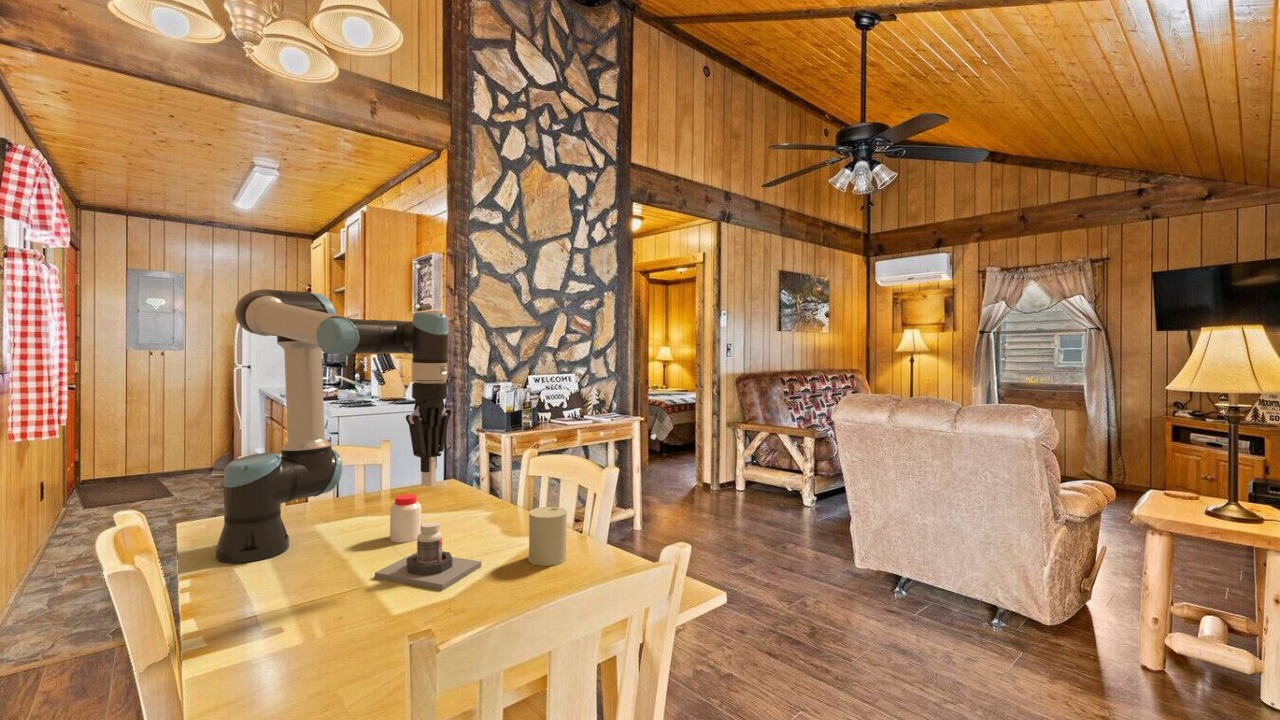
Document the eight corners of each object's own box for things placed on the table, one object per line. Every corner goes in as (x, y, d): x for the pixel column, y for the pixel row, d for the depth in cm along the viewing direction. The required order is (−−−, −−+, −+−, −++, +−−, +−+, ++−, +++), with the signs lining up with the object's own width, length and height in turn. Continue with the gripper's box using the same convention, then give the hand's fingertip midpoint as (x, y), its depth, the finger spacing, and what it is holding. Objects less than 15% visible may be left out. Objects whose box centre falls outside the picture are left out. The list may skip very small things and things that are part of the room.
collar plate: (374, 577, 132) (374, 563, 132) (417, 556, 145) (417, 543, 145) (443, 590, 126) (443, 575, 126) (481, 566, 139) (481, 553, 139)
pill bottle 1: (383, 540, 156) (383, 498, 156) (405, 531, 163) (405, 491, 163) (406, 544, 153) (406, 501, 153) (427, 535, 160) (427, 494, 160)
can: (573, 555, 147) (574, 507, 147) (553, 568, 139) (553, 517, 138) (542, 549, 151) (542, 502, 150) (520, 561, 142) (520, 512, 142)
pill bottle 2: (444, 568, 135) (445, 525, 134) (420, 573, 132) (420, 529, 131) (438, 560, 139) (438, 519, 139) (414, 565, 136) (414, 522, 136)
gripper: (424, 384, 127) (422, 494, 128) (461, 380, 139) (460, 480, 140) (395, 382, 129) (394, 490, 130) (434, 378, 141) (433, 477, 142)
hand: (428, 485), depth 135 cm, fingers closed
